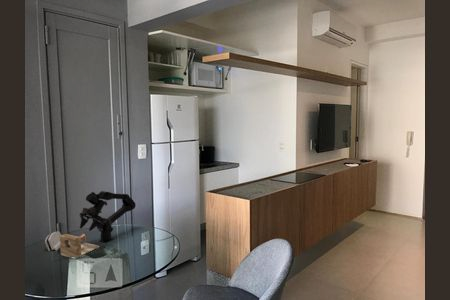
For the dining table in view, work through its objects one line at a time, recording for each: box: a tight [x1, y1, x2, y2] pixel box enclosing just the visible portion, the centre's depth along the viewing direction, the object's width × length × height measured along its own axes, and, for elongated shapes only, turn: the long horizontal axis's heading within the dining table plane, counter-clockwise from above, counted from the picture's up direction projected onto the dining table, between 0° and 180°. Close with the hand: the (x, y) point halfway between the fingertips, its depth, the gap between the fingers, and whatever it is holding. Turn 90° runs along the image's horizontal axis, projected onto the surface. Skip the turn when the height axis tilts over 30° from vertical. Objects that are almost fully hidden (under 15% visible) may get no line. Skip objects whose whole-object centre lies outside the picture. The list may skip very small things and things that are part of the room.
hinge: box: [44, 231, 62, 252], centre depth 223 cm, size 17×5×10 cm, turn 5°
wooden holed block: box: [67, 233, 87, 246], centre depth 210 cm, size 11×5×5 cm, turn 152°
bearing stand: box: [60, 233, 101, 258], centre depth 213 cm, size 18×14×12 cm
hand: (84, 229), depth 216 cm, fingers open, 9 cm apart
